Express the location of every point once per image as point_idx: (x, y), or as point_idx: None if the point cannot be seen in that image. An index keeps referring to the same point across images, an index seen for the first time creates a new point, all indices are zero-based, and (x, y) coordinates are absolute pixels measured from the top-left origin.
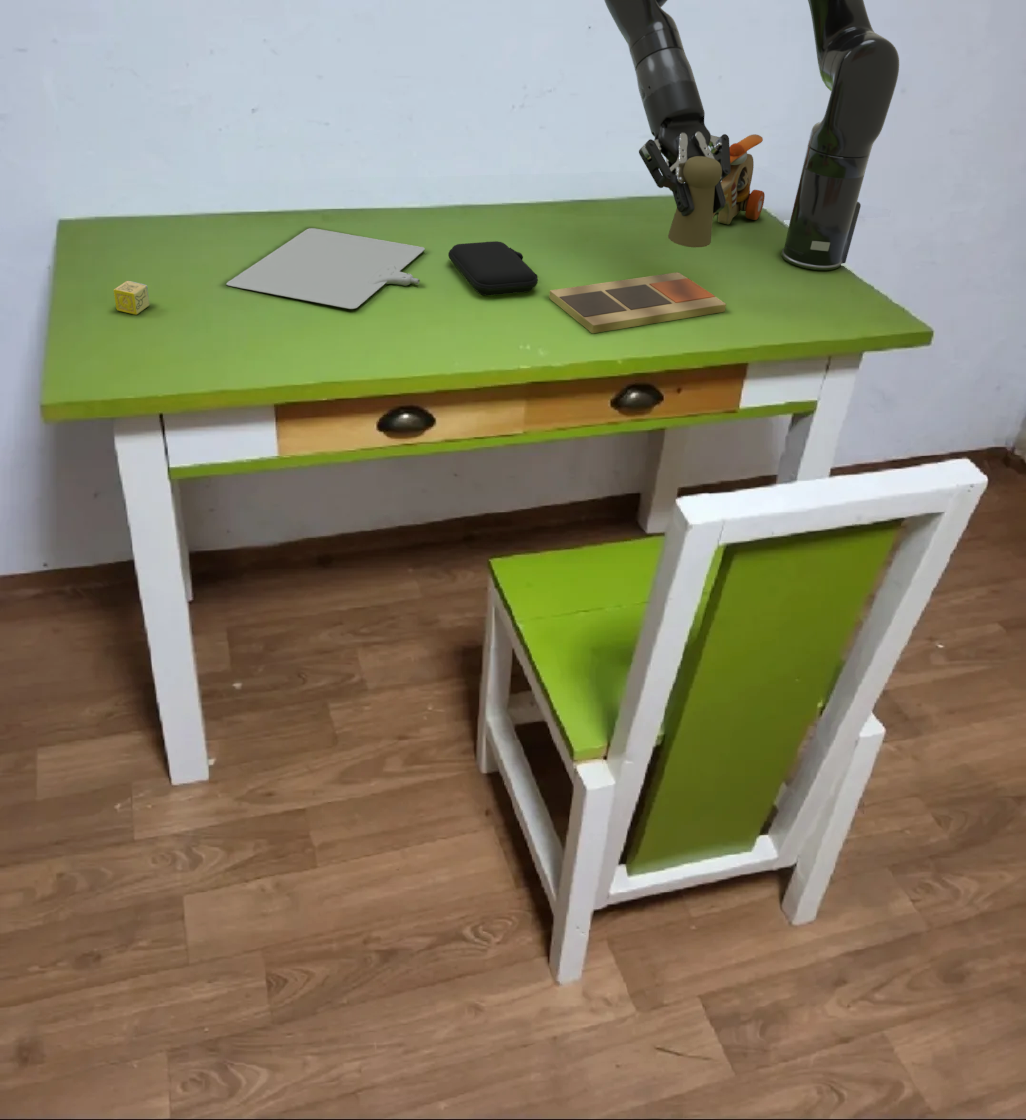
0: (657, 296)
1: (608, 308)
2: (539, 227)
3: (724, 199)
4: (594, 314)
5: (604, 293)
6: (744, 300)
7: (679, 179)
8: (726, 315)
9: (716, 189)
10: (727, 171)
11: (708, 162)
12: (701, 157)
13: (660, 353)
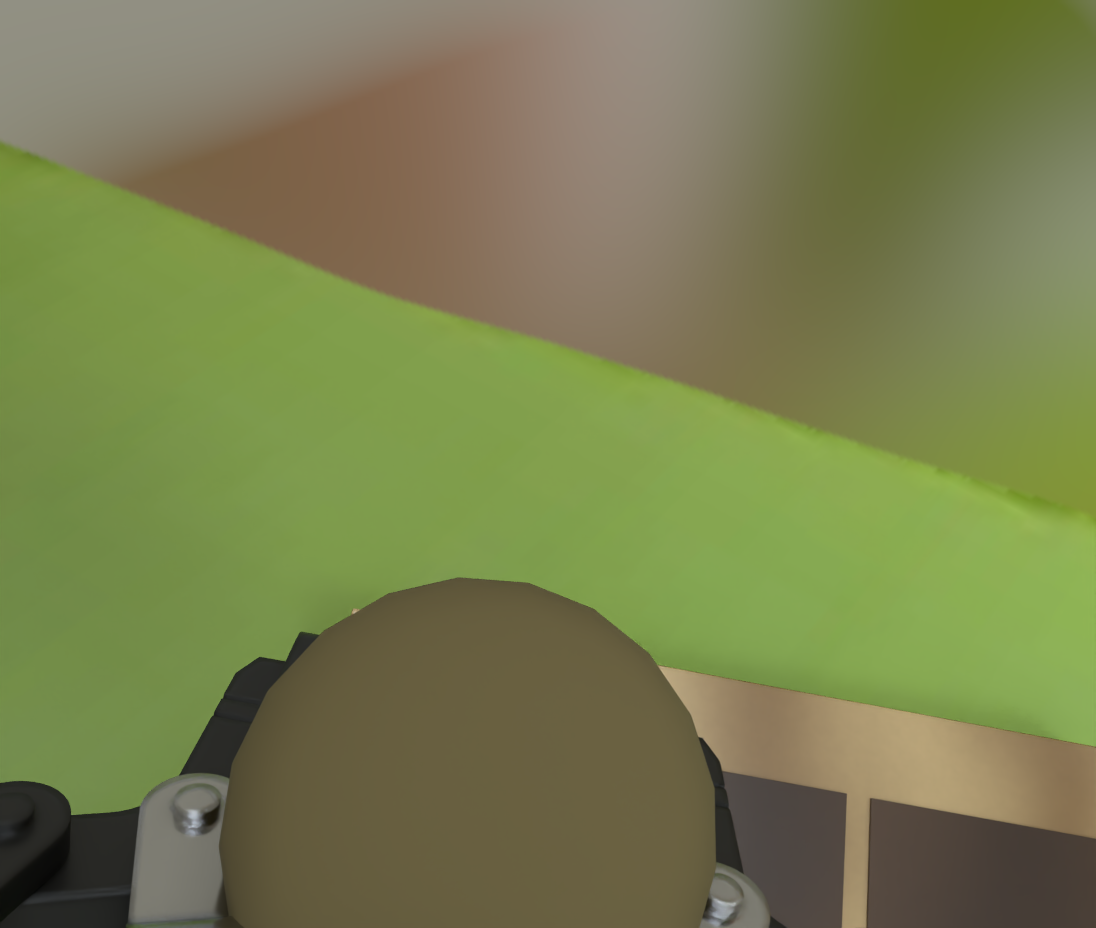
0: None
1: (948, 857)
2: None
3: (246, 678)
4: (1047, 835)
5: None
6: (142, 668)
7: (753, 897)
8: (377, 588)
9: None
10: (25, 798)
11: (529, 681)
12: (486, 873)
13: (901, 475)
